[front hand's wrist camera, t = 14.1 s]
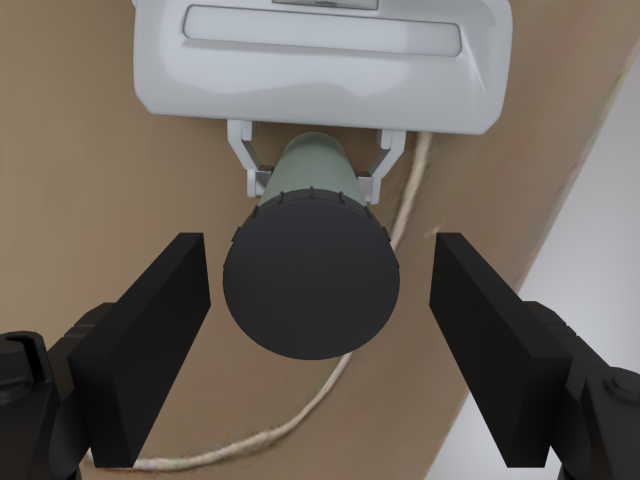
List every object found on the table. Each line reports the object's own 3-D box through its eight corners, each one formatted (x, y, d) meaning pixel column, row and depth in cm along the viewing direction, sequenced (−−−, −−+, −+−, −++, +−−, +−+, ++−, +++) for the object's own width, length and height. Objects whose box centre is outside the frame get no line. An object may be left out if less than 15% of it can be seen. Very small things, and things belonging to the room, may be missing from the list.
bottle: (285, 125, 31) (240, 190, 12) (354, 138, 31) (409, 218, 13) (275, 193, 32) (223, 336, 14) (341, 204, 33) (371, 358, 15)
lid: (239, 172, 13) (229, 184, 12) (410, 202, 14) (423, 217, 12) (222, 321, 15) (212, 348, 14) (373, 343, 16) (379, 372, 14)
